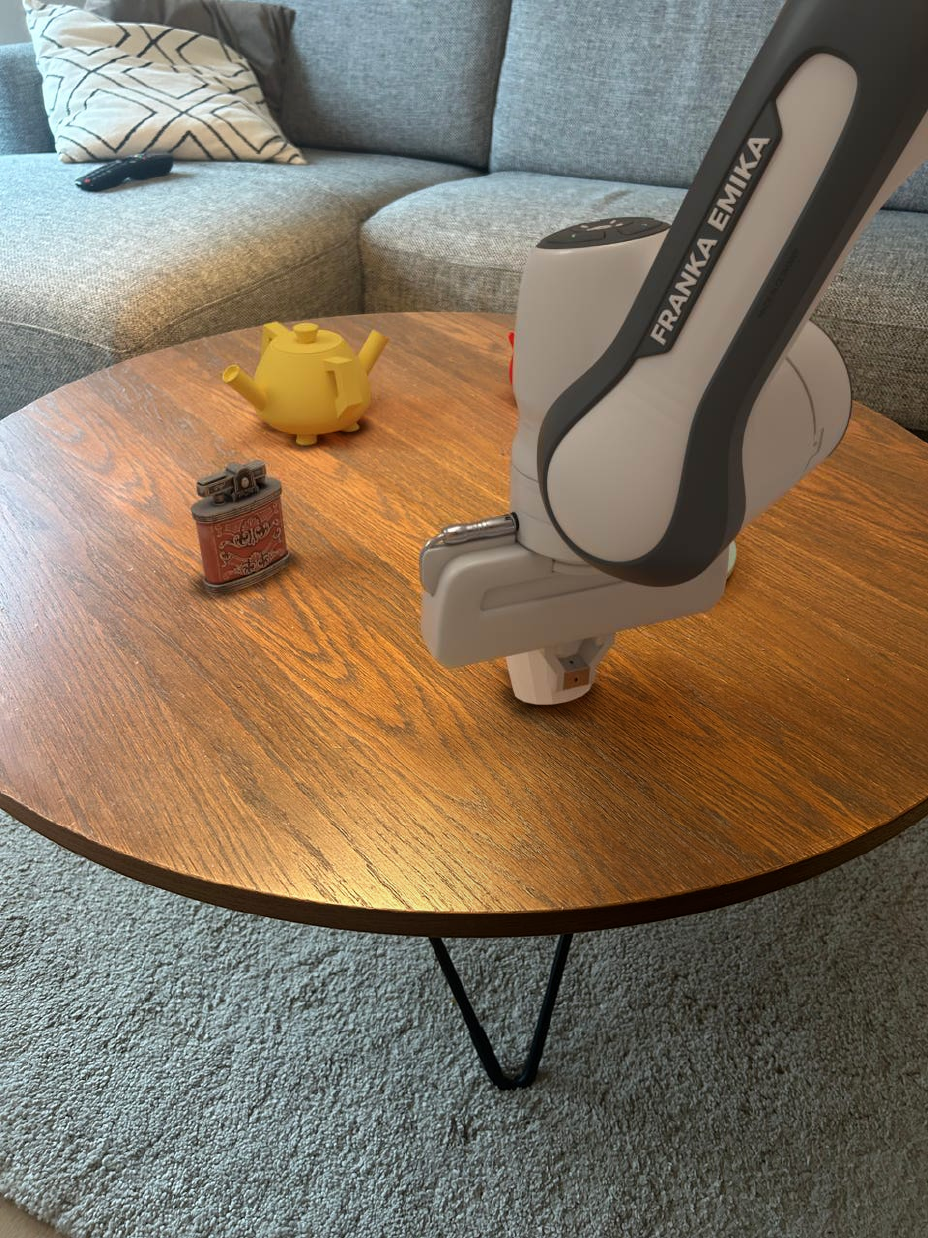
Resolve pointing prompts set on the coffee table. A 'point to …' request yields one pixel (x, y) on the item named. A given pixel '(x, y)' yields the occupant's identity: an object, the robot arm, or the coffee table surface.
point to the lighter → (240, 527)
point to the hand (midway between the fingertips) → (570, 683)
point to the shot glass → (540, 677)
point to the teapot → (309, 380)
